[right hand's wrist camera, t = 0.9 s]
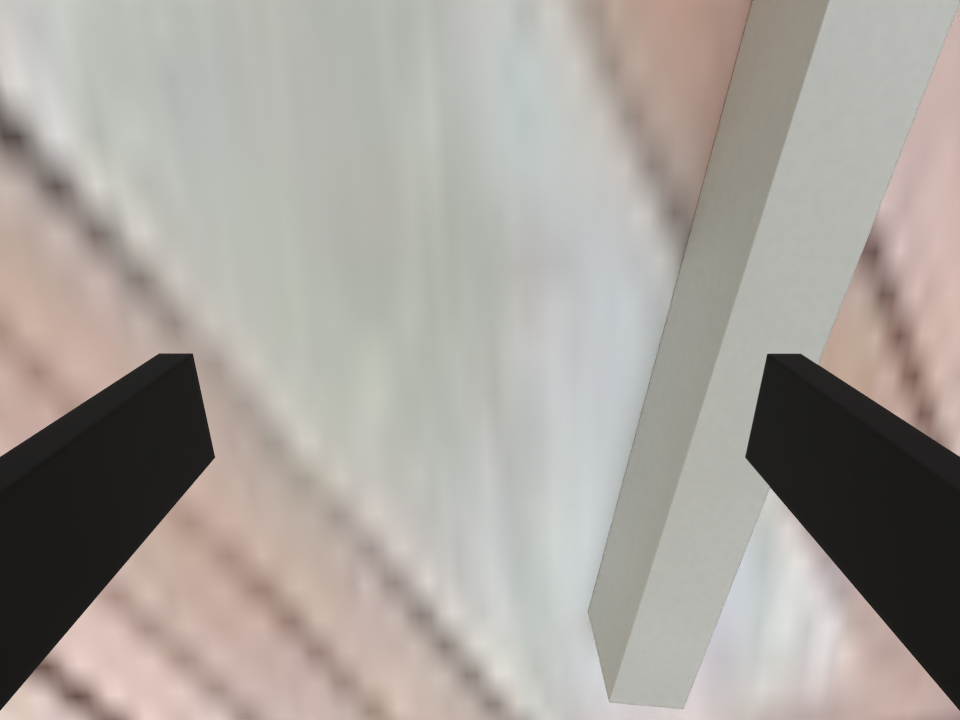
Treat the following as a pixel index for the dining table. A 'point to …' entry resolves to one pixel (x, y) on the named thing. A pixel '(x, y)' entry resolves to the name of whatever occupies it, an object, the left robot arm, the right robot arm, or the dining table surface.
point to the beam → (752, 310)
